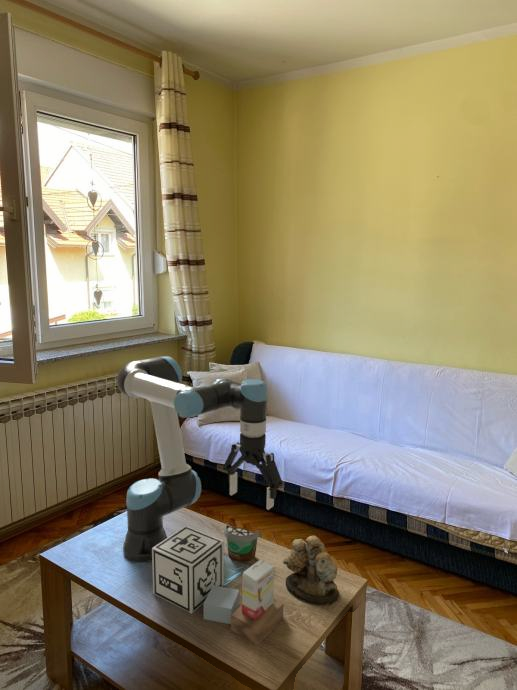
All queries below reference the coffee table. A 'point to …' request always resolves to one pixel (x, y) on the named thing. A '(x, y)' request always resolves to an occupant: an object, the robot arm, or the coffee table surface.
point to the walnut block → (257, 622)
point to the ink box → (257, 589)
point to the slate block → (221, 604)
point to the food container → (241, 543)
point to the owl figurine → (311, 572)
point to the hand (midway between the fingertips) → (251, 500)
